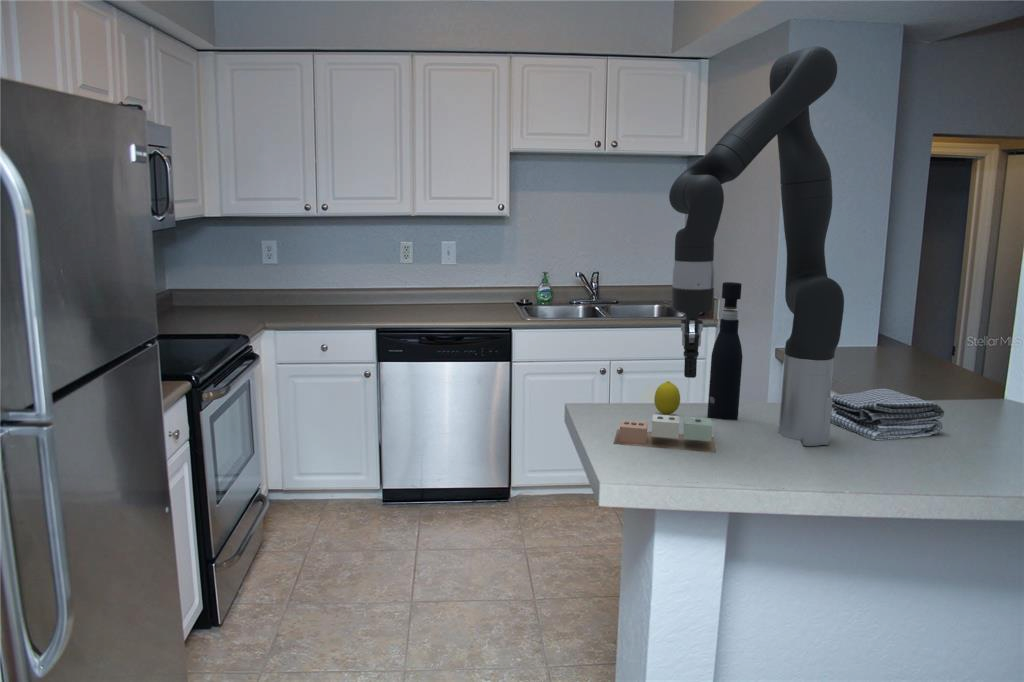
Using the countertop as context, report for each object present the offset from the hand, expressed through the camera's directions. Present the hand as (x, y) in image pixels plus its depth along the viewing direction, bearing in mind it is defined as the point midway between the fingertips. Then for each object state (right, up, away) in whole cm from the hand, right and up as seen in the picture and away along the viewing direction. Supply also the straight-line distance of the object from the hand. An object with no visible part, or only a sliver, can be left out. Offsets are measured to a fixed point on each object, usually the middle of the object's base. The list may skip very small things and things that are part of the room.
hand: (690, 376), depth 151 cm
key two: (-4, -11, +3) cm, 12 cm away
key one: (+2, -11, +1) cm, 12 cm away
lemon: (0, -10, +25) cm, 27 cm away
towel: (+46, -12, +20) cm, 51 cm away
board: (-4, -14, +4) cm, 15 cm away
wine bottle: (+12, -11, +23) cm, 28 cm away
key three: (-10, -12, +4) cm, 16 cm away
